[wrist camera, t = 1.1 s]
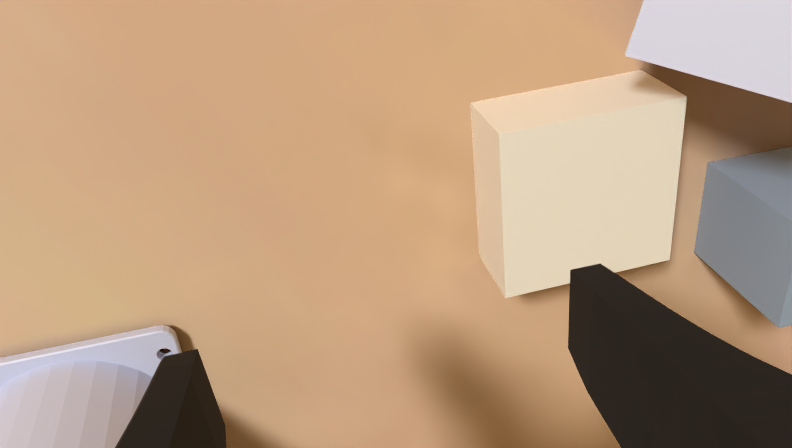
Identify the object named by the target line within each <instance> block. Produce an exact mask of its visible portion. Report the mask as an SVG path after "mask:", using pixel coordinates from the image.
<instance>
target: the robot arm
mask: <svg viewBox="0 0 792 448" xmlns="http://www.w3.org/2000/svg"><path fill="white" fill-rule="evenodd" d="M165 348H167V349H169V350H171V352H169V353H162V352H159V350H160V349H165ZM568 349H569V351H570V353H571V356H572V358H573V360H574V362H575V365H576V367H577V369H578V372H579V374H580V376H581V378H582V380H583V383H584V385H585V387H586V389H587V391H588V393H589V395H590V397H591V398H592V400H593V402H594V403H595V405H596V407H597V408H598V410H599V412H600V413H601V415H602V417H603V418H604V420H605V422H606V423H607V425H608V427H609V428H610V430H611V431H612V433H613V435H614V436H615V438H616V440H617V441H618V443H619V444H620V446H621V448H792V375H791V374H789V373H787V372H785V371H783V370H781V369H778V368H776V367H774V366H772V365H770V364H768V363H766V362H763V361H761V360H759V359H757V358H755V357H753V356H751V355H749V354H747V353H745V352H743V351H741V350H739V349H738V348H736V347H734V346H732V345H730V344H728V343H727V342H725V341H723V340H721V339H719V338H718V337H716V336H714V335H712V334H710V333H709V332H707V331H705V330H703V329H702V328H700V327H698V326H697V325H695V324H693V323H692V322H690V321H688V320H687V319H685V318H683V317H682V316H680V315H679V314H677V313H675V312H674V311H672V310H671V309H669V308H667V307H666V306H664V305H663V304H661V303H660V302H658V301H657V300H655V299H653V298H652V297H650V296H649V295H647V294H646V293H644V292H643V291H641V290H640V289H638V288H637V287H635V286H634V285H632V284H631V283H629V282H628V281H626V280H625V279H623V278H622V277H620V276H619V275H617V274H616V273H614V272H613V271H611V270H610V269H608V268H607V267H605V266H603V265H602V264H595V265H591V266H586V267H581V268H576V269H572V270H570V300H569V338H568ZM0 448H226V434H225V424H224V421H223V418H222V415H221V413H220V410H219V407H218V404H217V402H216V399H215V396H214V393H213V391H212V388H211V385H210V382H209V379H208V377H207V374H206V371H205V368H204V366H203V363H202V360H201V357H200V355H199V352H198V349H196V350H191V351H187V352H182V350H181V347H180V344H179V341H178V338H177V335H176V333H175V331H174V330H173V329H172V328H170V327H168V326H164V325H160V326H153V327H148V328H144V329H139V330H134V331H129V332H124V333H119V334H114V335H109V336H105V337H100V338H95V339H90V340H85V341H80V342H75V343H71V344H66V345H61V346H56V347H51V348H46V349H41V350H37V351H32V352H27V353H22V354H17V355H12V356H7V357H3V358H0Z"/></svg>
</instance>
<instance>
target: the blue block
mask: <svg viewBox="0 0 792 448" xmlns="http://www.w3.org/2000/svg"><path fill="white" fill-rule="evenodd" d="M694 253H695V254H696V255H697V256H699V257H700V258H701V259H702V260H703V261H704V262H705V263H706V264H708V265H709V266H710V267H711V268H712V269H713V270H714V271H715V272H716V273H718V274H719V275H720V276H721V277H722V278H723V279H724V280H725V281H726V282H728V283H729V284H730V285H731V286H732V287H733V288H734V289H735V290H737V291H738V292H739V293H740V294H741V295H742V296H743V297H744V298H745V299H747V300H748V301H749V302H750V303H751V304H752V305H753V306H754V307H755V308H757V309H758V310H759V311H760V312H761V313H762V314H763V315H764V316H765V317H767V318H768V319H769V320H770V321H771V322H772V323H773V324H774V325H776V326H777V327H778V328H780V327H785V326H789V325H792V146H791V147H786V148H780V149H775V150H770V151H765V152H760V153H755V154H750V155H744V156H739V157H734V158H729V159H724V160H719V161H713V162H708V164H707V171H706V177H705V184H704V191H703V197H702V204H701V210H700V217H699V224H698V230H697V237H696V244H695V250H694Z"/></svg>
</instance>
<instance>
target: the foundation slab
mask: <svg viewBox="0 0 792 448" xmlns="http://www.w3.org/2000/svg"><path fill="white" fill-rule="evenodd" d="M686 102H687V96H685V95H684V94H682V93H680V92H678V91H677V90H675V89H673V88H672V87H670V86H668V85H666V84H665V83H663V82H661V81H659V80H658V79H656V78H654V77H653V76H651V75H649V74H647V73H646V72H644V71H642V70H638V71H633V72H628V73H623V74H617V75H612V76H607V77H602V78H596V79H591V80H586V81H581V82H576V83H570V84H565V85H560V86H555V87H550V88H544V89H539V90H534V91H529V92H524V93H518V94H513V95H508V96H503V97H497V98H492V99H487V100H482V101H477V102H471V103H470V107H471V123H472V140H473V157H474V174H475V191H476V208H477V225H478V241H479V256H480V258H481V259H482V261H483V263H484V264H485V266H486V267H487V269H488V271H489V272H490V274H491V276H492V277H493V279H494V280H495V282H496V284H497V285H498V287H499V289H500V290H501V292H502V293H503V295H504V297H505V298H508V297H513V296H517V295H521V294H526V293H530V292H534V291H538V290H543V289H547V288H551V287H556V286H560V285H564V284H568V283H570V270H572V269H576V268H581V267H586V266H591V265H595V264H602V265H603V266H605V267H607V268H608V269H610V270H611V271H613V272H614V273H616V272H620V271H624V270H629V269H633V268H637V267H641V266H646V265H650V264H654V263H659V262H663V261H667V260H670V252H671V243H672V233H673V224H674V214H675V205H676V196H677V186H678V177H679V168H680V158H681V149H682V140H683V130H684V121H685V112H686Z"/></svg>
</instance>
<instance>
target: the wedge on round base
mask: <svg viewBox="0 0 792 448" xmlns="http://www.w3.org/2000/svg"><path fill="white" fill-rule="evenodd" d="M625 56H628V57H632V58H635V59H639V60H642V61H646V62H649V63H653V64H656V65H660V66H663V67H667V68H670V69H674V70H678V71H681V72H685V73H688V74H692V75H695V76H699V77H702V78H706V79H709V80H713V81H716V82H720V83H724V84H727V85H731V86H734V87H738V88H741V89H745V90H748V91H752V92H755V93H759V94H762V95H766V96H770V97H773V98H777V99H780V100H784V101H787V102H791V103H792V0H644V1H643V4H642V7H641V10H640V13H639V16H638V18H637V21H636V24H635V27H634V30H633V33H632V36H631V39H630V41H629V44H628V47H627V50H626V53H625Z"/></svg>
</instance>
